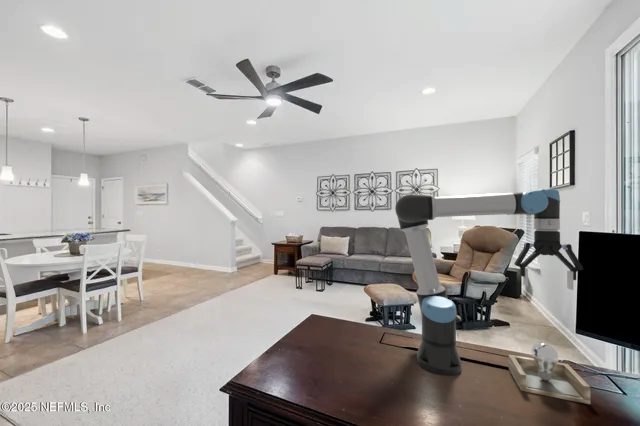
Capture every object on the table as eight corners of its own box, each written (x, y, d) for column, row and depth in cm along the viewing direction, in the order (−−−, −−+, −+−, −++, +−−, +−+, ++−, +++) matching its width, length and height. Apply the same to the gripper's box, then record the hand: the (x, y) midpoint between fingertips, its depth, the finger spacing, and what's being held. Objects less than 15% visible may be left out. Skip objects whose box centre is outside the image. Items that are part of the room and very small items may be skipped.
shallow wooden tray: (520, 390, 86) (520, 374, 87) (508, 368, 99) (508, 354, 100) (590, 404, 80) (590, 386, 80) (567, 379, 93) (567, 364, 93)
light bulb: (564, 388, 86) (564, 349, 86) (539, 385, 87) (538, 346, 87) (550, 376, 93) (550, 339, 93) (527, 373, 94) (526, 337, 94)
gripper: (510, 229, 105) (510, 285, 104) (595, 231, 96) (596, 293, 95) (505, 229, 112) (505, 281, 111) (584, 231, 103) (584, 288, 102)
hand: (547, 287), depth 103 cm, fingers open, 13 cm apart
